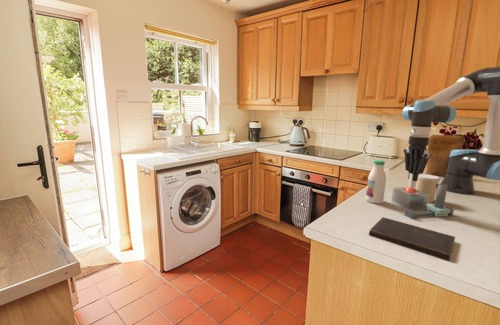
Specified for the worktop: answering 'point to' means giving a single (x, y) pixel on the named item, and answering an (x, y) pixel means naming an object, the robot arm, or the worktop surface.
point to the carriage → (440, 202)
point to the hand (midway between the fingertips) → (411, 187)
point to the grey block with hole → (410, 198)
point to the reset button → (410, 189)
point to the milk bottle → (376, 183)
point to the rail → (423, 213)
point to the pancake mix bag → (441, 152)
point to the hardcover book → (414, 237)
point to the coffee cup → (428, 185)
